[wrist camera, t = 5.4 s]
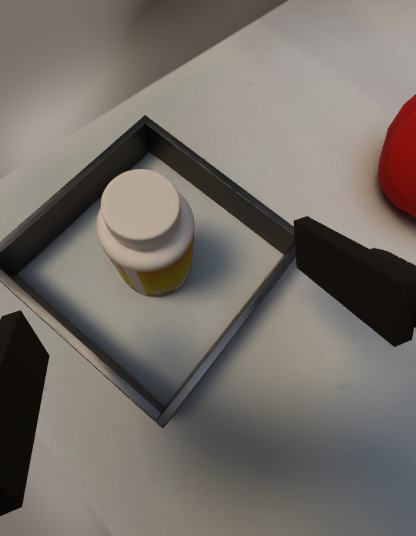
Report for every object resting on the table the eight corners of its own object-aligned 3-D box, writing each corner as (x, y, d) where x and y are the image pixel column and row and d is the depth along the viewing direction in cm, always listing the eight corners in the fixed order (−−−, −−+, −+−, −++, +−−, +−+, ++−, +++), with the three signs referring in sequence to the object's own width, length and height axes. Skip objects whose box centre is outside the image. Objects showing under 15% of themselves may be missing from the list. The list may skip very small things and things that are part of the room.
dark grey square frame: (165, 419, 22) (162, 428, 19) (5, 275, 24) (-23, 261, 21) (293, 254, 27) (309, 238, 23) (149, 143, 29) (144, 114, 25)
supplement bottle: (202, 249, 26) (214, 181, 16) (172, 310, 25) (166, 274, 15) (141, 221, 27) (118, 138, 17) (108, 280, 25) (60, 225, 15)
